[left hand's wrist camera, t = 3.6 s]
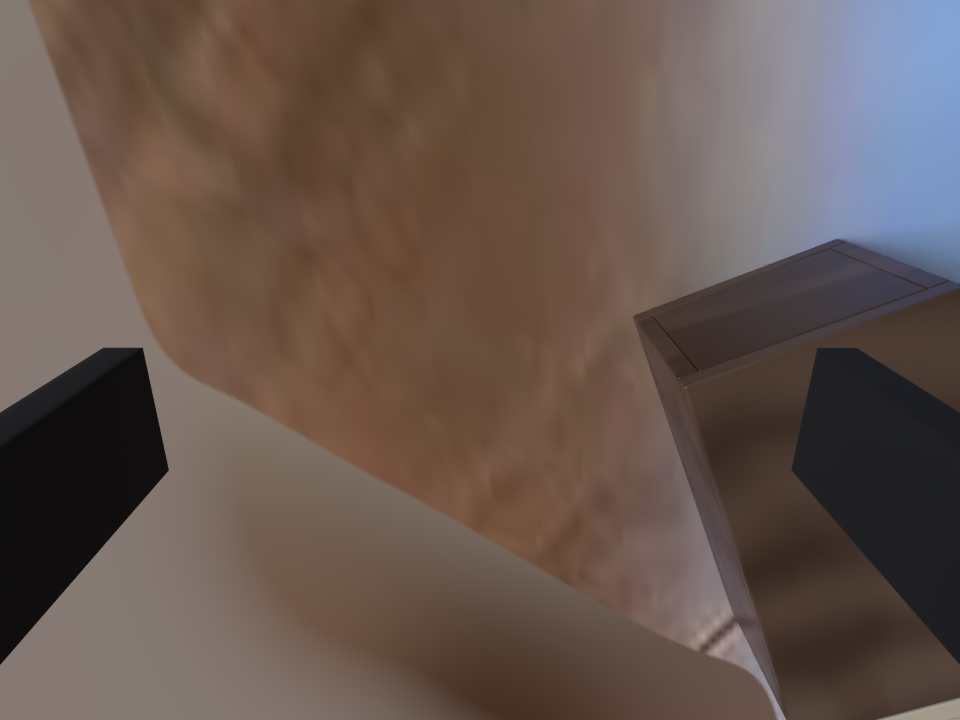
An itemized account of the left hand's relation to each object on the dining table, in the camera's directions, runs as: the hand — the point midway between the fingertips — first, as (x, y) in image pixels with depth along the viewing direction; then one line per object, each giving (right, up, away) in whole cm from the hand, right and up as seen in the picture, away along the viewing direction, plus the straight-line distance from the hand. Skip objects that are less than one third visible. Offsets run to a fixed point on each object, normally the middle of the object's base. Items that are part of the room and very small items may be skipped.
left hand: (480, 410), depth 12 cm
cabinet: (+16, -4, +21) cm, 27 cm away
